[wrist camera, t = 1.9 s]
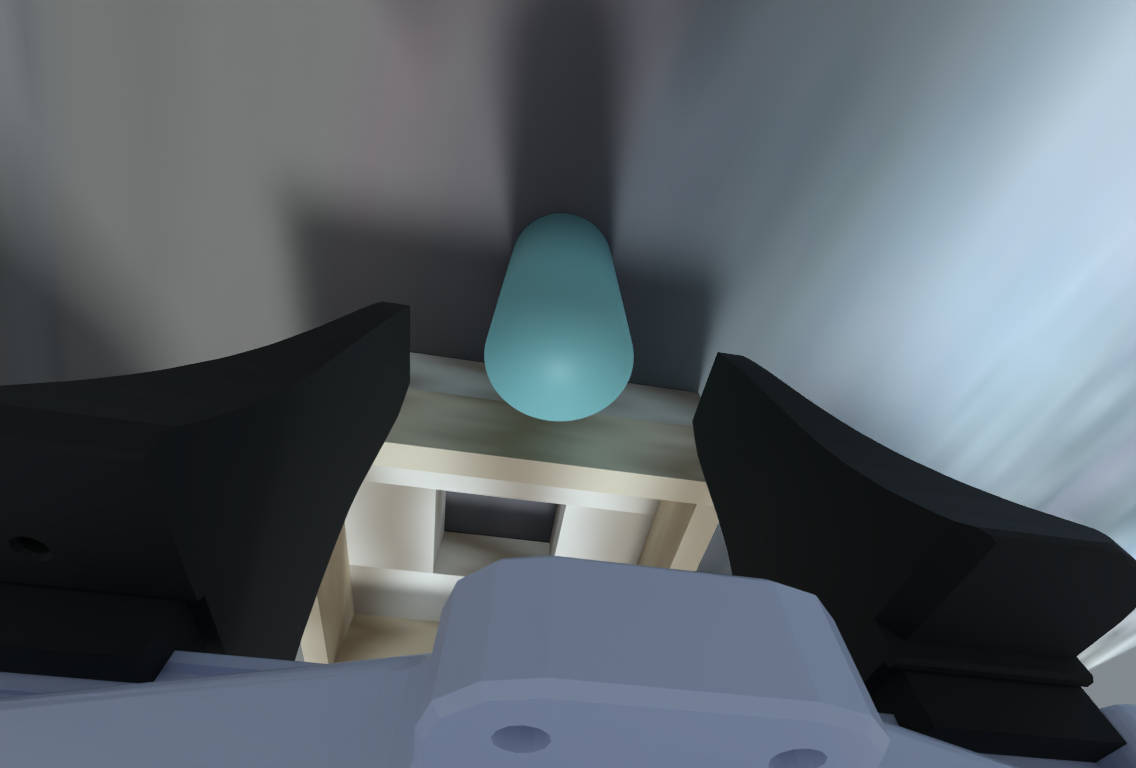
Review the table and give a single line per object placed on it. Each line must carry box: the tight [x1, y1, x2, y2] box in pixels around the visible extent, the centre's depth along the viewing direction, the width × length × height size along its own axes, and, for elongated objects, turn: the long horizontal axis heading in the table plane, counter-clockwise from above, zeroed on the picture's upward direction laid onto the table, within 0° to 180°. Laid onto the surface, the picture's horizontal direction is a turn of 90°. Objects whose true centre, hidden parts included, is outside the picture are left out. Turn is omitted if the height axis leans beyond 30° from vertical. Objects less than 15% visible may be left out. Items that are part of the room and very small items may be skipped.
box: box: [301, 352, 719, 664], centre depth 22 cm, size 15×15×6 cm
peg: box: [484, 213, 634, 421], centre depth 15 cm, size 4×4×7 cm
